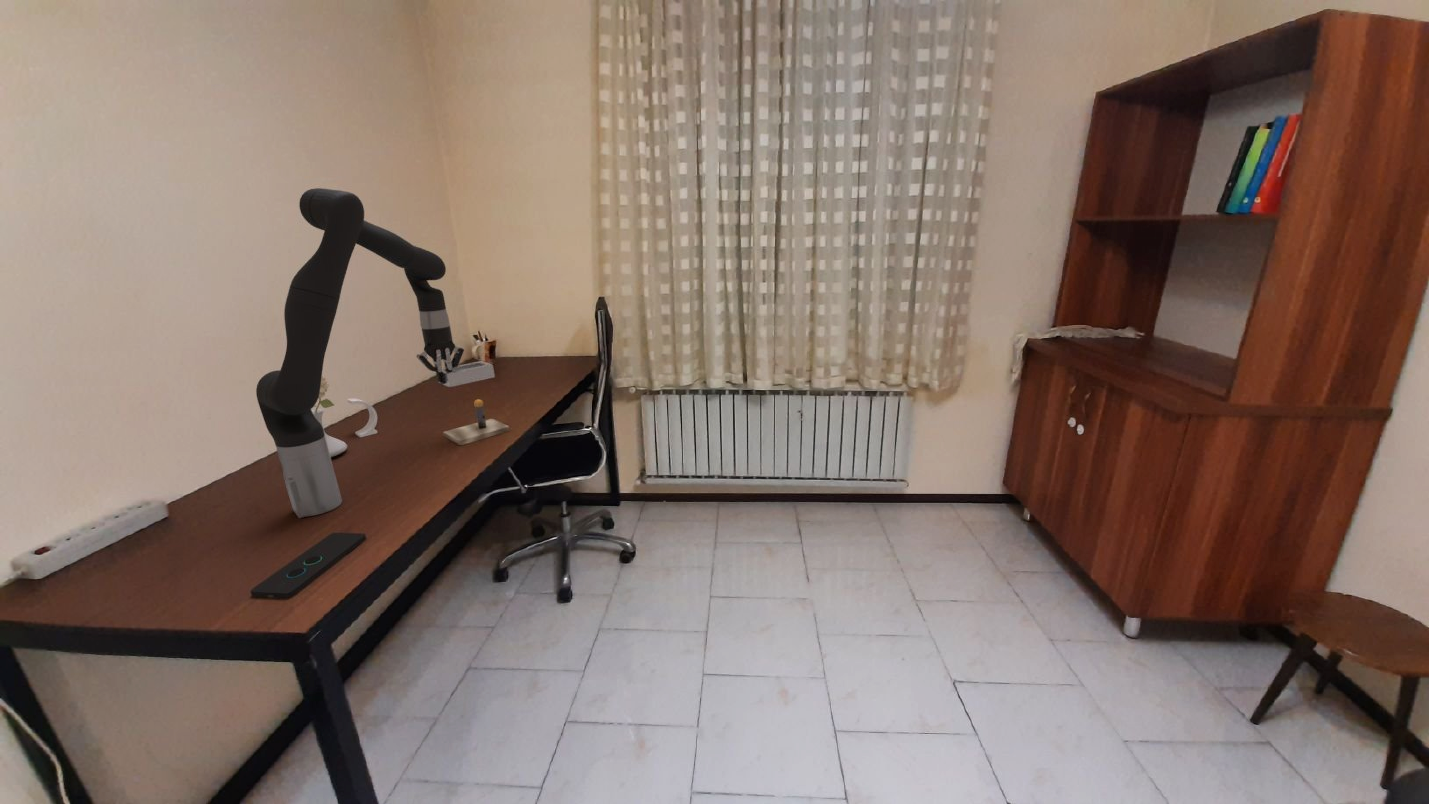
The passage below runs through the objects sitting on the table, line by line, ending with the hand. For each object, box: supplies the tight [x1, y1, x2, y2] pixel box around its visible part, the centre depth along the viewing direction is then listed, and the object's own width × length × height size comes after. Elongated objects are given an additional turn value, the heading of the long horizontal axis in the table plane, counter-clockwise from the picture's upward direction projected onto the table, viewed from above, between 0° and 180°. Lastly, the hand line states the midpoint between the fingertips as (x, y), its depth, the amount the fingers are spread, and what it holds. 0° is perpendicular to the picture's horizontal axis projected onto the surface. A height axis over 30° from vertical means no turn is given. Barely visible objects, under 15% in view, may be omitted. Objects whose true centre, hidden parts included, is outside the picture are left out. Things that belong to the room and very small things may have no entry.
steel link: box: [438, 360, 496, 388], centre depth 170 cm, size 14×8×4 cm, turn 137°
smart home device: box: [250, 532, 367, 599], centre depth 108 cm, size 8×2×20 cm
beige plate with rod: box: [442, 398, 511, 446], centre depth 175 cm, size 16×12×11 cm
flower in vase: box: [311, 375, 348, 458], centre depth 158 cm, size 13×11×25 cm
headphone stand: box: [346, 398, 378, 438], centre depth 178 cm, size 5×6×12 cm
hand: (446, 382), depth 166 cm, fingers closed on steel link, 1 cm apart
